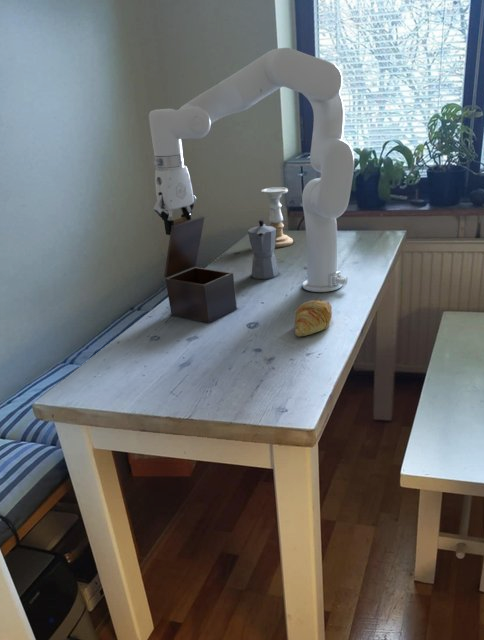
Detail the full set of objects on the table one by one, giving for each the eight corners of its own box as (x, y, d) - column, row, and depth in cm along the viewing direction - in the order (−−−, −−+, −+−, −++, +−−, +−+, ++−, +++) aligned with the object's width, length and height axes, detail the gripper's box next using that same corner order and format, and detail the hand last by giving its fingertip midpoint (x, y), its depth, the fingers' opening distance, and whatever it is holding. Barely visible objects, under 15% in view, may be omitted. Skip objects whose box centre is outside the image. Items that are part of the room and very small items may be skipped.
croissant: (309, 353, 157) (321, 329, 152) (276, 333, 158) (288, 308, 153) (335, 322, 173) (348, 299, 168) (306, 304, 174) (317, 281, 169)
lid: (204, 216, 170) (191, 208, 172) (173, 227, 162) (160, 218, 164) (195, 266, 182) (183, 257, 183) (166, 277, 173) (153, 269, 175)
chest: (236, 309, 180) (233, 272, 174) (209, 323, 172) (204, 285, 166) (199, 301, 188) (194, 266, 182) (171, 314, 179) (165, 278, 174)
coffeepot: (277, 280, 201) (274, 224, 191) (249, 281, 202) (244, 225, 192) (280, 266, 214) (277, 213, 204) (253, 268, 214) (249, 215, 205)
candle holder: (264, 240, 247) (260, 187, 236) (294, 239, 245) (292, 185, 234) (260, 248, 237) (255, 193, 226) (291, 247, 235) (288, 191, 224)
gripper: (156, 167, 153) (167, 240, 163) (202, 157, 164) (209, 226, 174) (135, 166, 157) (147, 238, 167) (182, 157, 168) (190, 224, 178)
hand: (179, 231), depth 170 cm, fingers closed on lid, 6 cm apart
